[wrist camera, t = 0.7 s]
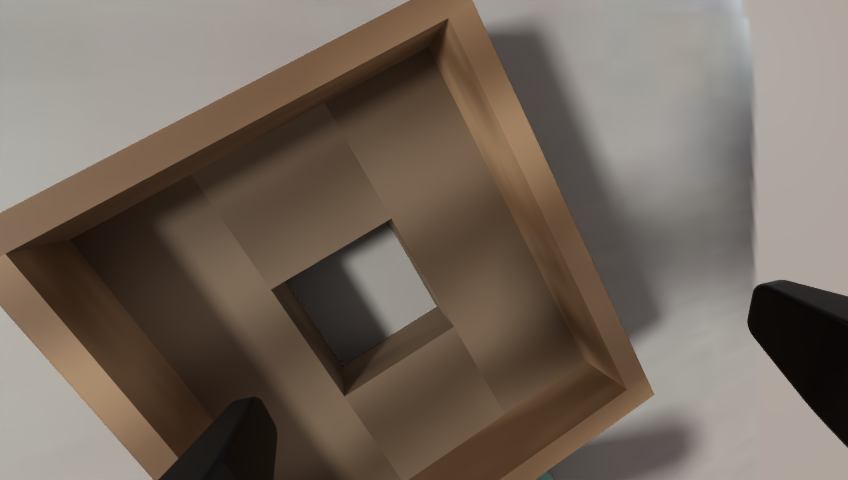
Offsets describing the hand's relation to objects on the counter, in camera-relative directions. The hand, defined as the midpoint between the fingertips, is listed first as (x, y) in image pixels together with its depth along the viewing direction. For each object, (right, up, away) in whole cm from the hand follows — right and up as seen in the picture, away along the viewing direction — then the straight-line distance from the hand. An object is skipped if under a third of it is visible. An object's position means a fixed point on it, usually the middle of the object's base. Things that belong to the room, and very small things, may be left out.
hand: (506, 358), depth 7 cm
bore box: (-5, 0, +13) cm, 14 cm away
